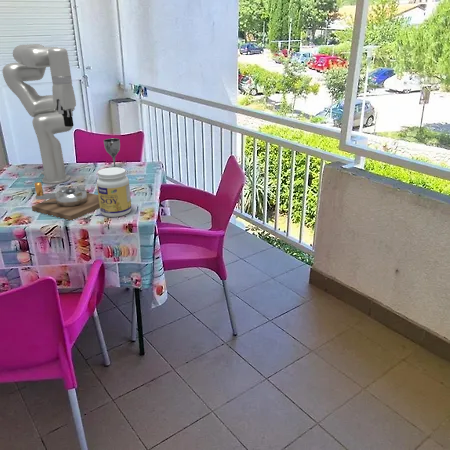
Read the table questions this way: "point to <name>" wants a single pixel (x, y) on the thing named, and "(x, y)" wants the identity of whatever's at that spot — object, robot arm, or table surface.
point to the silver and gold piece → (63, 195)
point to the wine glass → (112, 147)
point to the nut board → (68, 208)
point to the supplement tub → (113, 192)
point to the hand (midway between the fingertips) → (69, 126)
